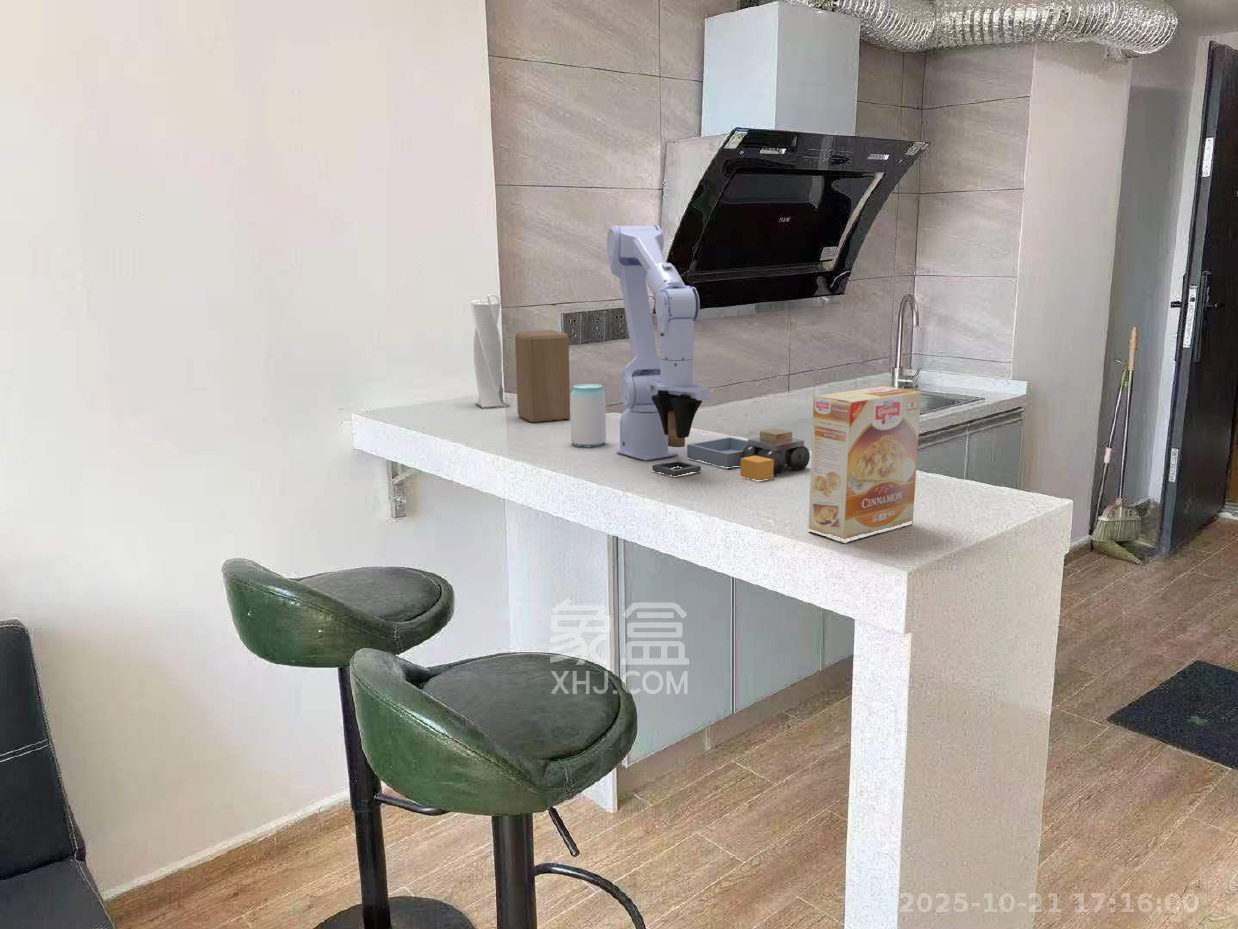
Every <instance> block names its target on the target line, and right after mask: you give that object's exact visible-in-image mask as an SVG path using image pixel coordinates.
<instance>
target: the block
mask: <svg viewBox="0 0 1238 929" xmlns="http://www.w3.org/2000/svg"><path fill="white" fill-rule="evenodd" d="M569 338H570V337H569V335H568V333H566V332H562V331H558V330H553V329H552V330H551V329H550V330H548V329H547V330H530V331H525V330H524V331H518V332H516V333H515V337H514V340H515V341H514V342H515V343H514V344H515V365H516V366H515V370H516V397H517V398H516V402H517V405H516V406H517V414H518V417H520V418H521V419H523V420H526V421H527V422H531V423H533V422H536V423H542V422H541V421H547V422H553V421H552V420H558V421H564V420H563V419H567V420H568V419H571V407H570V394H571V390H570V384H571V383H570V350H569V349H570V347H569V346H570V345H569V342H570V341H569Z"/></svg>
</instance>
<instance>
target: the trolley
mask: <svg viewBox="0 0 1238 929" xmlns="http://www.w3.org/2000/svg"><path fill="white" fill-rule="evenodd" d="M747 441H748V446H746V447H745V448H744V450H743V451H742V454H741V458H745V457H750V456H755V455H756V456H760V457H764V458H769V459H773V460H774V468H773V476H778V475H777V474H779V475H781V474H782V473H783V472H784V471H785V468H786V467H788V468H789V469H791V470H796V471H803V470H805V468H807V466H808V465H809V462H810V460H811V459H810V458H811V456H810V455H811V454H810V450H809V448H808V447H806V446H805V439H801V438H800V439H798V438H794V437H793V431H789V430H785V429H780V428H772V429H771V428H770V429H765V430H760V431H759V436H758V437H754V438H748V439H747ZM763 448H764V449H766V450H764V449H763Z"/></svg>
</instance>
